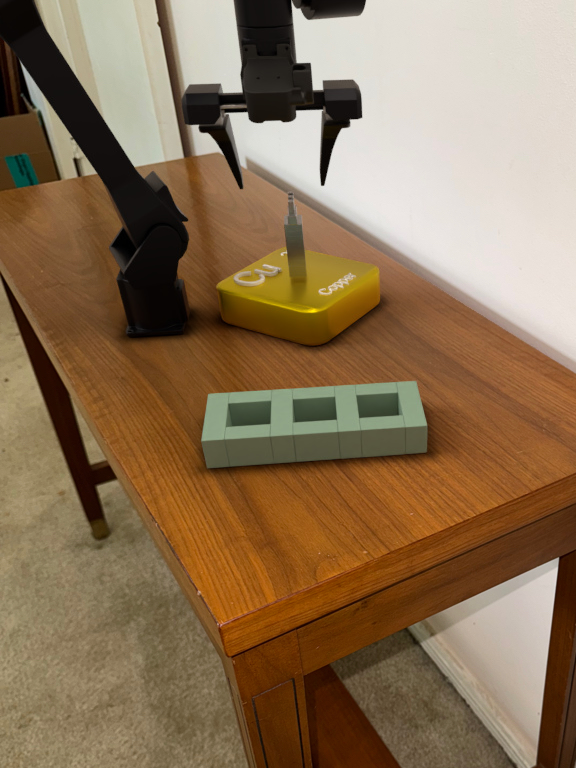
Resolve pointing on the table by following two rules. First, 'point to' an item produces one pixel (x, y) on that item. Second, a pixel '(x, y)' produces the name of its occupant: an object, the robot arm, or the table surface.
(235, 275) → the element tile
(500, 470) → the table surface
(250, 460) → the rack
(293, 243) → the flat stepped stick
